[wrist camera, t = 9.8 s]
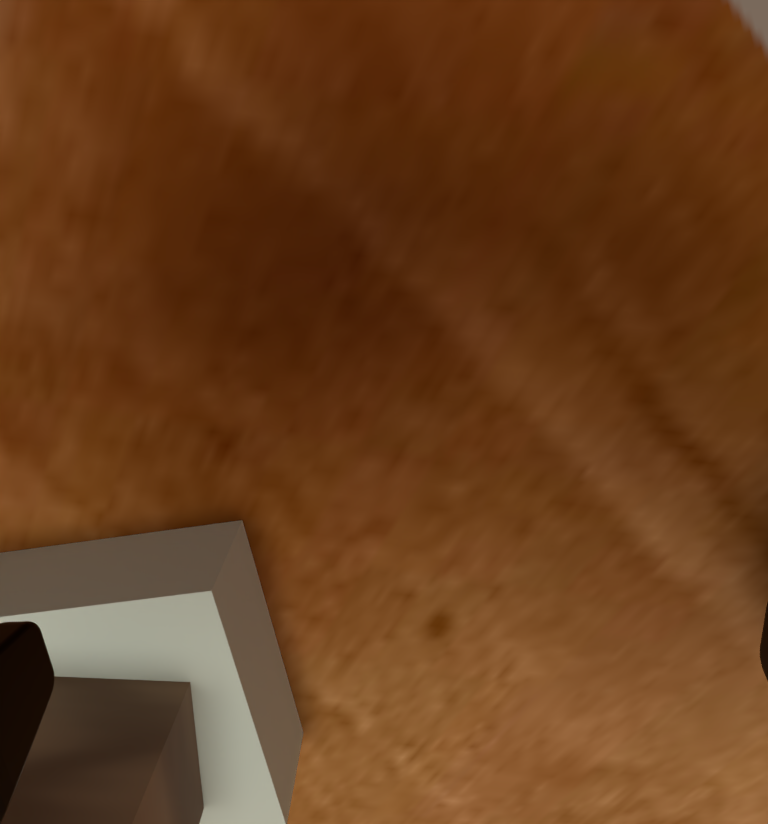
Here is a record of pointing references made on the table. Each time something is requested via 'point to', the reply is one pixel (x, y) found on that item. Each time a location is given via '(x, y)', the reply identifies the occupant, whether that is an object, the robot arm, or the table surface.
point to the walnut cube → (112, 756)
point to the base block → (175, 646)
